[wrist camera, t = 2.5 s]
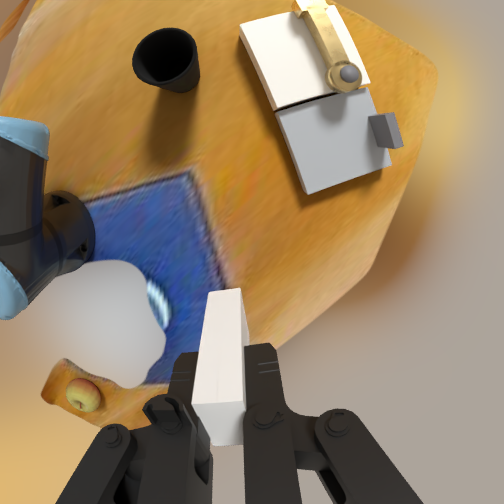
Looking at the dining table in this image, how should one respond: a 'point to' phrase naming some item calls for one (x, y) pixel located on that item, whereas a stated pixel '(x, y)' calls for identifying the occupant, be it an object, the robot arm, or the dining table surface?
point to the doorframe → (319, 102)
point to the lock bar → (326, 43)
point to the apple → (83, 395)
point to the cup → (167, 60)
